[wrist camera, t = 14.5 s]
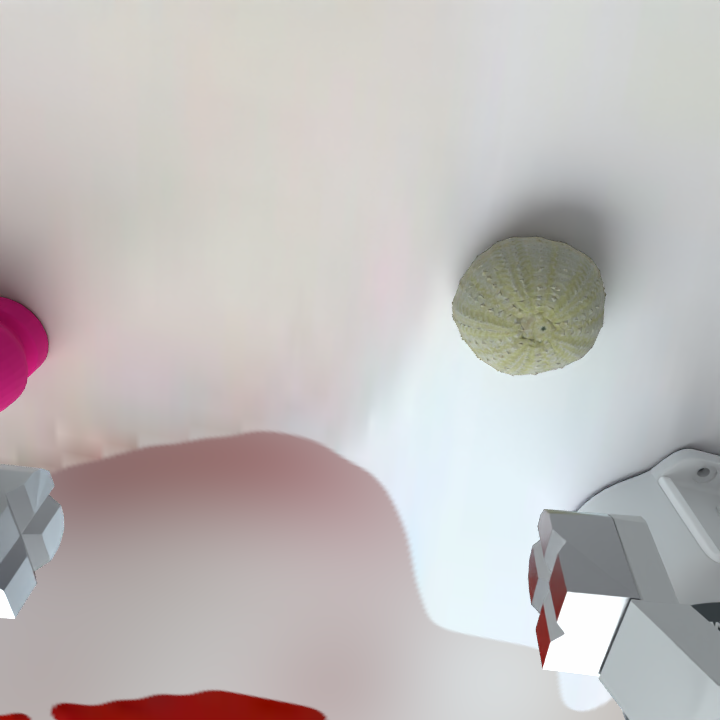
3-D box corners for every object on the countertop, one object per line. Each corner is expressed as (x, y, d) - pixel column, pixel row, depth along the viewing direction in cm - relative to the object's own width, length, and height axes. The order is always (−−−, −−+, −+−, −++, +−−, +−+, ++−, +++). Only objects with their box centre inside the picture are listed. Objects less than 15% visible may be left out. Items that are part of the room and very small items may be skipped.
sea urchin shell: (498, 202, 36) (601, 287, 33) (557, 220, 42) (651, 295, 39) (414, 323, 41) (497, 411, 37) (479, 324, 47) (556, 401, 43)
